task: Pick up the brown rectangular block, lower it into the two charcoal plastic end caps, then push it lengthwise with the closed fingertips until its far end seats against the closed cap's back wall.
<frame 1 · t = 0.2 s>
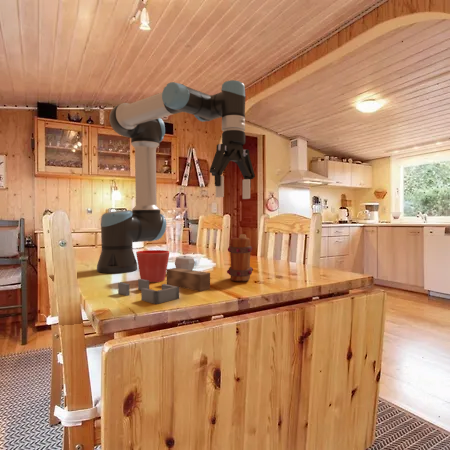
hand: (233, 198, 108), 27 cm above the table, fingers open, 13 cm apart
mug: (241, 279, 114), on the table
flower pot: (153, 280, 112), on the table
brown rectangular block: (187, 287, 102), on the table
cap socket: (160, 299, 87), on the table
apple: (184, 273, 125), on the table
cap saddle: (134, 292, 95), on the table
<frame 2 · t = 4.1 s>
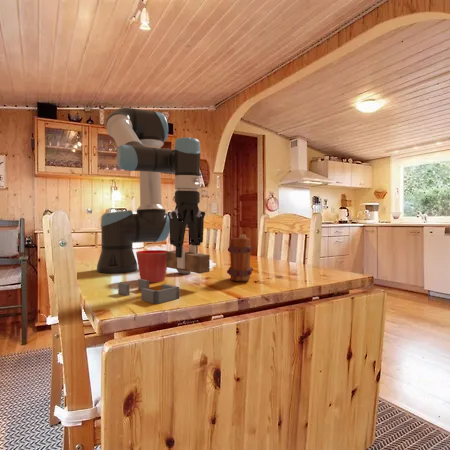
hand: (186, 266, 102), 6 cm above the table, fingers closed on brown rectangular block, 4 cm apart
brown rectangular block: (187, 269, 102), point 5 cm above the table, touching gripper
everything else where it was.
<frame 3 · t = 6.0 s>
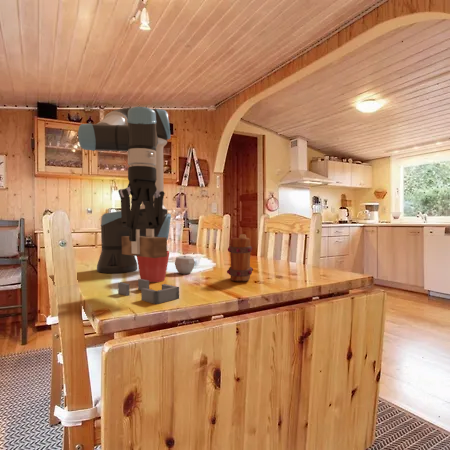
hand: (143, 252, 91), 12 cm above the table, fingers closed on brown rectangular block, 4 cm apart
brown rectangular block: (143, 255, 91), point 11 cm above the table, touching gripper
everything else where it was.
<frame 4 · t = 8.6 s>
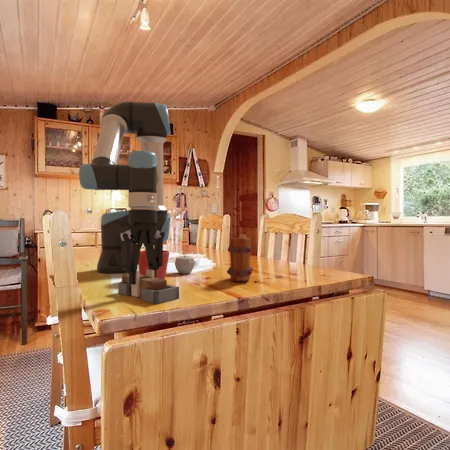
hand: (143, 294, 91), 0 cm above the table, fingers open, 4 cm apart
brown rectangular block: (143, 295, 91), on the table, touching gripper
everything else where it was.
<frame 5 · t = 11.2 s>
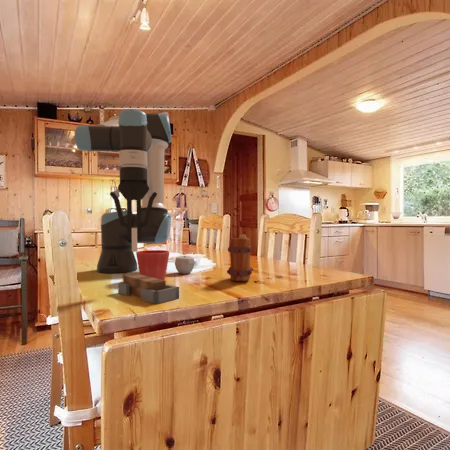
hand: (134, 250, 95), 12 cm above the table, fingers closed
brown rectangular block: (143, 295, 91), on the table
everything else where it was.
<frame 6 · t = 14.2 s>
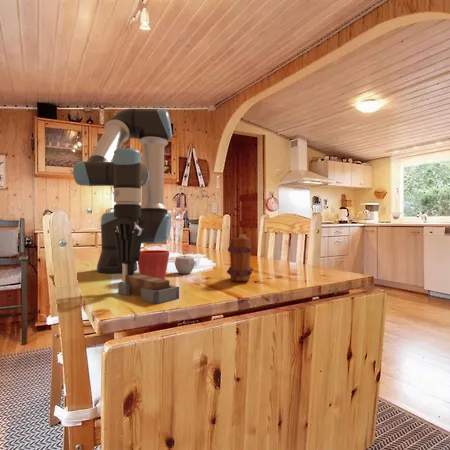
hand: (128, 285, 96), 2 cm above the table, fingers closed
brown rectangular block: (146, 296, 91), on the table, touching gripper
everything else where it was.
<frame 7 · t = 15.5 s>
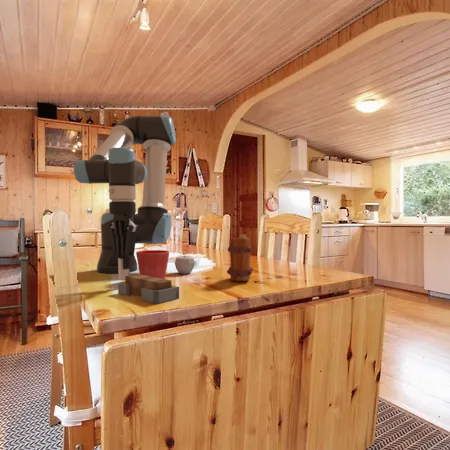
hand: (123, 279, 101), 2 cm above the table, fingers closed
brown rectangular block: (147, 296, 91), on the table
everything else where it was.
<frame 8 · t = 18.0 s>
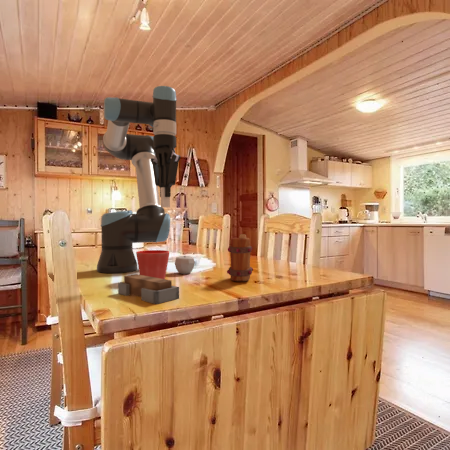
hand: (165, 207, 111), 24 cm above the table, fingers closed
nothing on the table moved.
at the end: brown rectangular block 0.4 cm from the target spot, on the table; brown rectangular block tilted 0° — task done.
